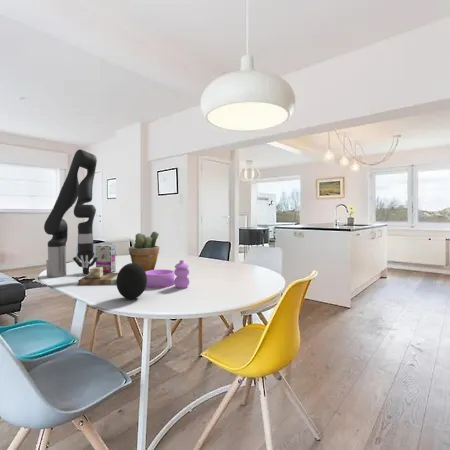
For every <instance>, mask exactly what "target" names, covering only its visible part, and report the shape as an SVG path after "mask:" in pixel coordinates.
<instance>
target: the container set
mask: <svg viewBox="0 0 450 450" xmlns="http://www.w3.org/2000/svg"><path fill="white" fill-rule="evenodd" d="M174 268H175V269H174V270H172V269H154V270H150V271H146V276H147V285H146V288H148V289H163V288H168V287H173V286H174V285H175V287H176V288H177V289H186V288H188V286H189V285H190V283H191V282H190V279H189V276H188V275H190V270H189V264H188V263H186V262H185V260H183V259H182V260H181V259H180V260H179V262H178V263H176V264H175V265H174Z"/></svg>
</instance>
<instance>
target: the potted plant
mask: <svg viewBox="0 0 450 450" xmlns="http://www.w3.org/2000/svg"><path fill="white" fill-rule="evenodd" d="M158 237H159V232H157V231H152V232H151V235H150V236H146V234H142V233H140V232H138V233H137V234H135V240H134V244H133V246H129V247H128V254H129V255H130V261H131V263H136V264H138V265H140V266H141V267H142V268H143V269H144V270H145V272H146V271H150V270H155V268H156V265H157V261H158V256H159V253H160V246H159V245H156V243H157V239H158Z"/></svg>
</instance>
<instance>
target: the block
mask: <svg viewBox="0 0 450 450" xmlns="http://www.w3.org/2000/svg"><path fill="white" fill-rule="evenodd" d="M103 273H104V272H103V267H96V266H95V267H94V266H92V267H91V268H89V274H90V277H101V276H103Z"/></svg>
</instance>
